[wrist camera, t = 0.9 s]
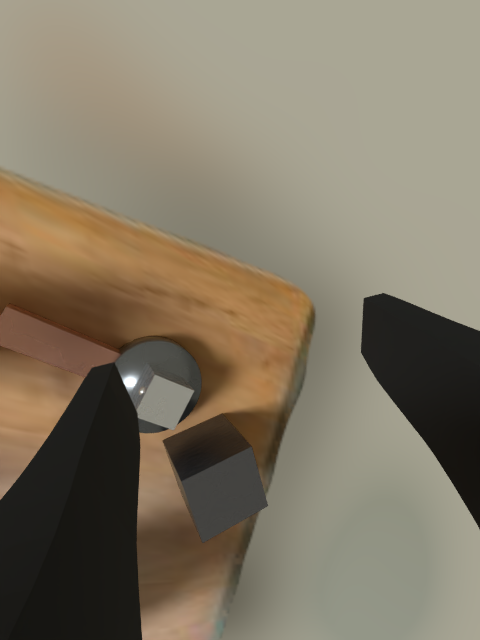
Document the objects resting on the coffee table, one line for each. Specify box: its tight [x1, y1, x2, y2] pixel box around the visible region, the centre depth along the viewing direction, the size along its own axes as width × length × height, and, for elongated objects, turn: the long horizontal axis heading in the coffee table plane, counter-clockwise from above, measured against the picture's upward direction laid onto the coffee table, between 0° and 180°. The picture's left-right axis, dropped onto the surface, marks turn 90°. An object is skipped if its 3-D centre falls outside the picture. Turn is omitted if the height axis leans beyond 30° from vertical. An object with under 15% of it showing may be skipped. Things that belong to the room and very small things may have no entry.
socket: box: [163, 414, 268, 543], centre depth 29 cm, size 5×5×6 cm
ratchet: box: [0, 303, 202, 433], centre depth 25 cm, size 14×7×5 cm, turn 60°
